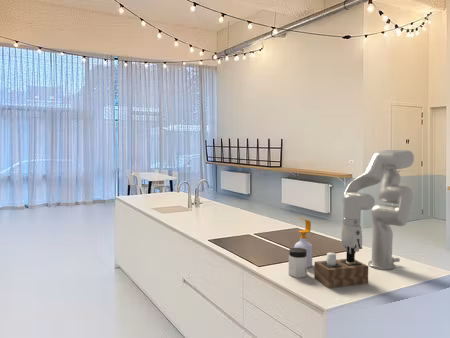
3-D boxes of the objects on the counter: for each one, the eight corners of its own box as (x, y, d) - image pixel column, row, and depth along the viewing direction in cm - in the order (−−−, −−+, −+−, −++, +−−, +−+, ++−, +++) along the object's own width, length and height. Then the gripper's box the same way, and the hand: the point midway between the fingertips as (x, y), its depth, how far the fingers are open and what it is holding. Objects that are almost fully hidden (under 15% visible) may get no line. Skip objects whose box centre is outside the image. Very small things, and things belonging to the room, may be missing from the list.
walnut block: (352, 274, 180) (352, 257, 179) (367, 283, 169) (368, 265, 168) (314, 278, 175) (314, 260, 174) (328, 288, 163) (328, 269, 163)
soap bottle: (290, 263, 197) (291, 217, 195) (305, 261, 200) (306, 215, 198) (300, 268, 188) (300, 220, 187) (315, 266, 192) (316, 219, 190)
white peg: (332, 268, 172) (333, 252, 172) (337, 271, 169) (337, 254, 168) (324, 269, 171) (325, 253, 171) (329, 272, 167) (329, 255, 167)
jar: (284, 273, 181) (285, 249, 180) (296, 270, 186) (296, 246, 185) (298, 279, 174) (299, 253, 173) (310, 275, 179) (311, 250, 178)
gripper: (369, 224, 165) (367, 266, 166) (349, 218, 179) (348, 256, 180) (354, 225, 163) (353, 267, 164) (335, 219, 177) (334, 257, 178)
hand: (350, 261), depth 172 cm, fingers closed
